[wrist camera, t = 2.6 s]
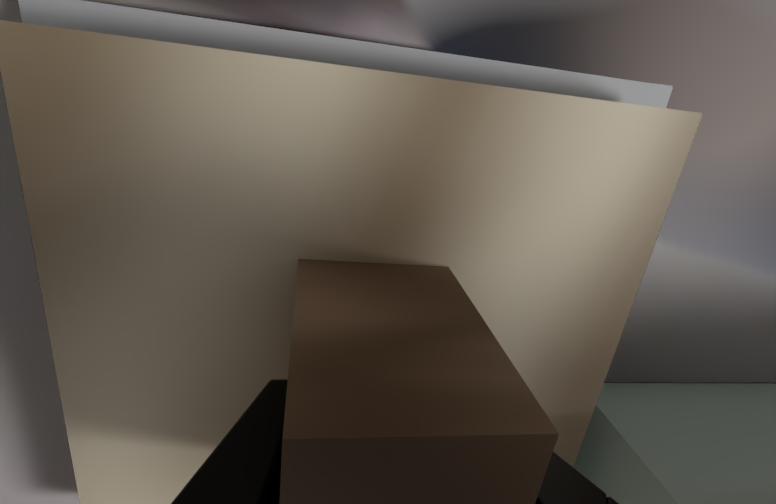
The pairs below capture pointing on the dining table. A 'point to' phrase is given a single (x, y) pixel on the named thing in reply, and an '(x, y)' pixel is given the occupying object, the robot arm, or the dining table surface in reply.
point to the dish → (682, 443)
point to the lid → (327, 263)
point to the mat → (333, 50)
